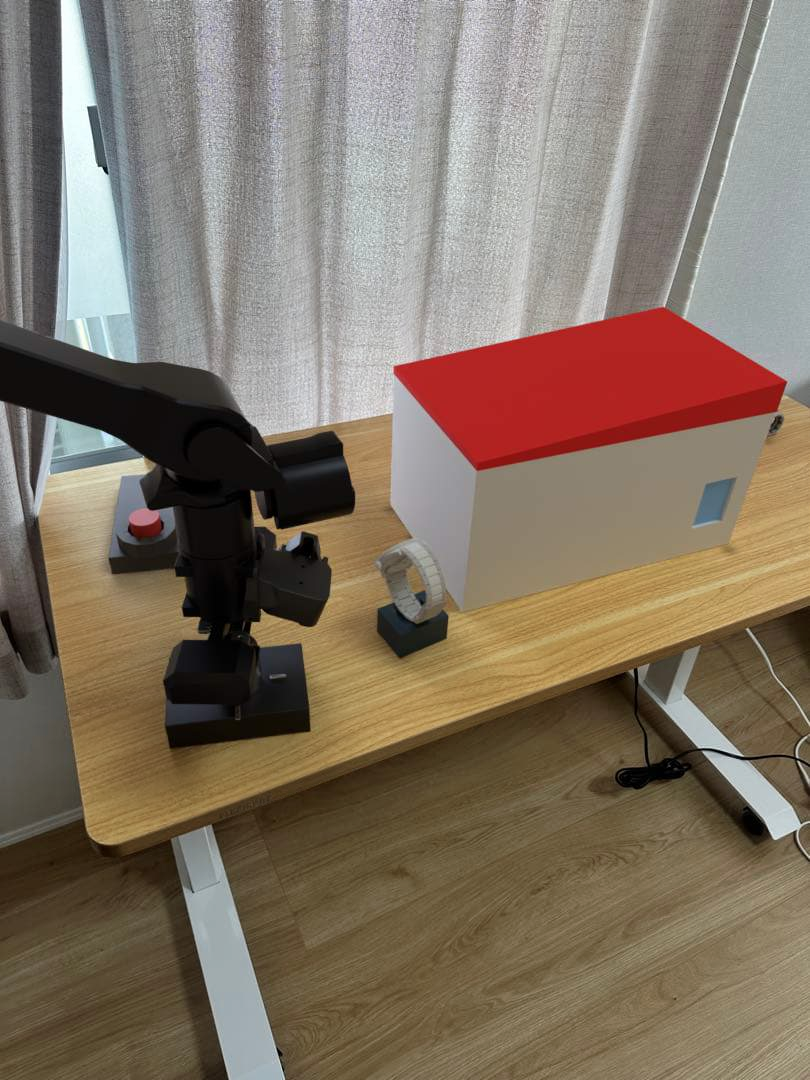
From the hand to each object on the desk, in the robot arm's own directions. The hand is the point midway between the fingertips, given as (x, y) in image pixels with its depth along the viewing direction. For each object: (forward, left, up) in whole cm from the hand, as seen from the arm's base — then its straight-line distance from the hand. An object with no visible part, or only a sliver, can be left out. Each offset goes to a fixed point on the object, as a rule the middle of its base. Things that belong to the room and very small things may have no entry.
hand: (236, 678), depth 71 cm
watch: (+17, +7, -4) cm, 19 cm away
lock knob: (0, 0, 0) cm, 0 cm away
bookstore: (+38, +23, -4) cm, 44 cm away
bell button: (-9, +23, 0) cm, 25 cm away
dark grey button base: (-9, +29, -4) cm, 30 cm away
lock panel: (0, 0, -4) cm, 4 cm away
